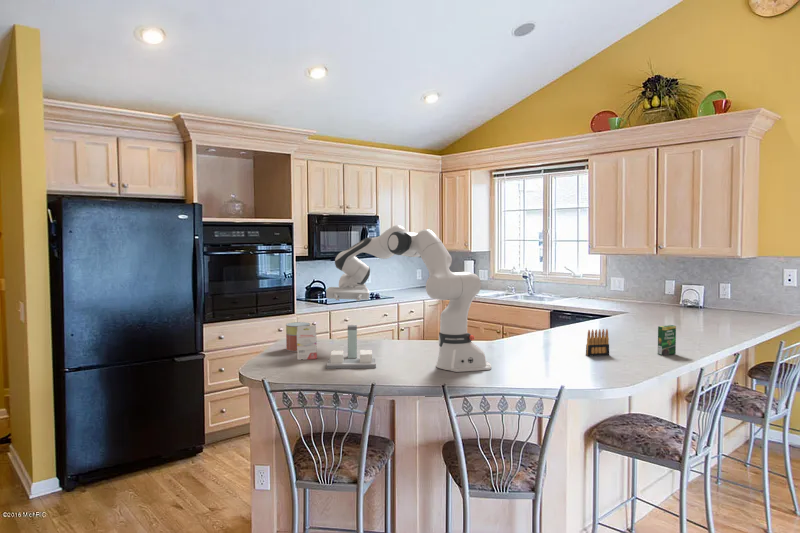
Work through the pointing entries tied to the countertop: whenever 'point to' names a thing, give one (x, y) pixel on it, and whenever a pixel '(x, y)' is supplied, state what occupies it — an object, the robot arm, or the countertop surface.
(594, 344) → the ammunition clip
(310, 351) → the ink cartridge box
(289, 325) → the canned food
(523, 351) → the countertop surface
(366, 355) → the mounting board
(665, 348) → the coffee box
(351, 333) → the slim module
